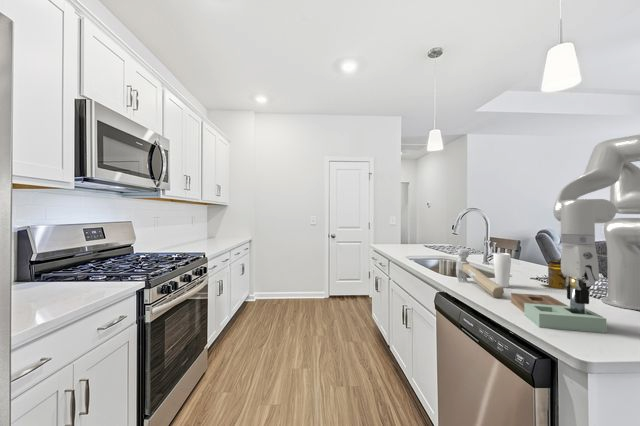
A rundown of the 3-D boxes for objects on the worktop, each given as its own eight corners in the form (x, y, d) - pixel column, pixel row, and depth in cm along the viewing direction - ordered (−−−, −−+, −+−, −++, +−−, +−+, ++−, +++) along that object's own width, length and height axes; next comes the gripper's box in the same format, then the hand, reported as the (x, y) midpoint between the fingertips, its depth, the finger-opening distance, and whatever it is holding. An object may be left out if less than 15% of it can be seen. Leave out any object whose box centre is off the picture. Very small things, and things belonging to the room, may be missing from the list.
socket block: (548, 304, 102) (548, 295, 102) (568, 316, 90) (568, 305, 90) (511, 302, 105) (511, 293, 105) (525, 313, 93) (525, 302, 93)
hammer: (507, 274, 108) (466, 248, 138) (495, 275, 108) (456, 248, 138) (501, 311, 112) (462, 277, 141) (489, 311, 112) (453, 277, 141)
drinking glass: (495, 287, 126) (494, 254, 126) (492, 284, 132) (491, 252, 132) (512, 289, 123) (512, 255, 123) (509, 285, 130) (508, 253, 130)
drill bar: (580, 316, 85) (580, 277, 85) (587, 320, 82) (587, 279, 82) (568, 315, 86) (567, 276, 86) (574, 319, 83) (574, 279, 83)
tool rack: (583, 319, 87) (583, 307, 87) (606, 333, 78) (606, 318, 78) (524, 315, 92) (524, 303, 92) (539, 327, 82) (539, 313, 82)
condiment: (570, 290, 121) (569, 262, 121) (546, 288, 124) (545, 261, 124) (562, 286, 128) (562, 260, 128) (539, 284, 131) (539, 259, 131)
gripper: (613, 243, 75) (613, 311, 75) (575, 238, 91) (575, 294, 91) (579, 242, 77) (579, 309, 77) (548, 237, 93) (548, 293, 93)
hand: (577, 300), depth 84 cm, fingers closed on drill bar, 3 cm apart
